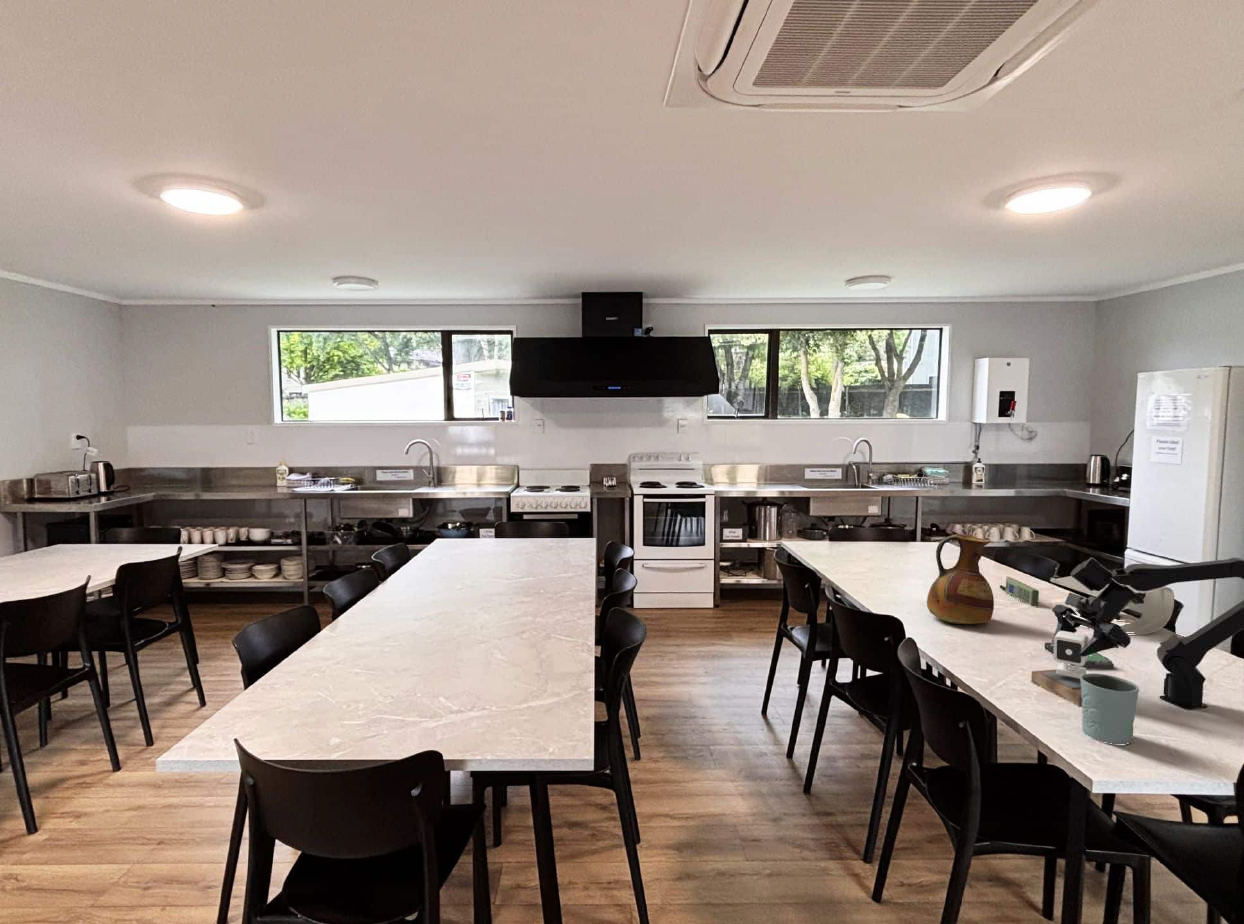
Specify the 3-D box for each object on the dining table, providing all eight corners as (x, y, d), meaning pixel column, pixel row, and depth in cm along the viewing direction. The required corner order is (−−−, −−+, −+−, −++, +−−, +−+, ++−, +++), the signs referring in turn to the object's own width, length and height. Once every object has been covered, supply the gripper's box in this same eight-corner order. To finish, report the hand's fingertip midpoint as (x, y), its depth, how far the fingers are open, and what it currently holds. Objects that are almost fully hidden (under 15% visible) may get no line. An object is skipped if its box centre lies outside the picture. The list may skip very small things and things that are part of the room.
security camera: (1053, 675, 158) (1053, 635, 157) (1058, 667, 163) (1058, 629, 162) (1084, 681, 153) (1084, 641, 153) (1088, 673, 158) (1089, 634, 158)
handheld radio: (1029, 607, 232) (996, 589, 257) (1039, 608, 232) (1004, 590, 256) (1031, 589, 231) (997, 573, 256) (1040, 590, 231) (1006, 574, 256)
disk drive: (1043, 651, 189) (1076, 670, 174) (1043, 642, 188) (1076, 660, 174) (1078, 652, 188) (1114, 670, 173) (1079, 642, 188) (1115, 660, 173)
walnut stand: (1110, 703, 152) (1111, 689, 152) (1078, 706, 151) (1079, 692, 150) (1060, 680, 166) (1061, 667, 166) (1031, 682, 164) (1031, 669, 164)
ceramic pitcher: (999, 633, 203) (1002, 541, 201) (930, 626, 210) (933, 538, 208) (985, 615, 222) (988, 531, 220) (923, 610, 228) (925, 528, 226)
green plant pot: (1086, 742, 134) (1089, 687, 133) (1071, 721, 143) (1073, 669, 142) (1144, 750, 130) (1147, 694, 129) (1125, 728, 140) (1128, 676, 139)
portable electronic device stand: (1175, 635, 201) (1178, 587, 200) (1105, 637, 199) (1108, 589, 198) (1108, 611, 226) (1110, 569, 225) (1046, 612, 225) (1048, 570, 224)
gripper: (1059, 574, 166) (1019, 616, 166) (1121, 592, 148) (1076, 640, 147) (1086, 602, 167) (1046, 644, 167) (1150, 624, 149) (1106, 671, 148)
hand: (1066, 649), depth 157 cm, fingers closed on security camera, 8 cm apart
